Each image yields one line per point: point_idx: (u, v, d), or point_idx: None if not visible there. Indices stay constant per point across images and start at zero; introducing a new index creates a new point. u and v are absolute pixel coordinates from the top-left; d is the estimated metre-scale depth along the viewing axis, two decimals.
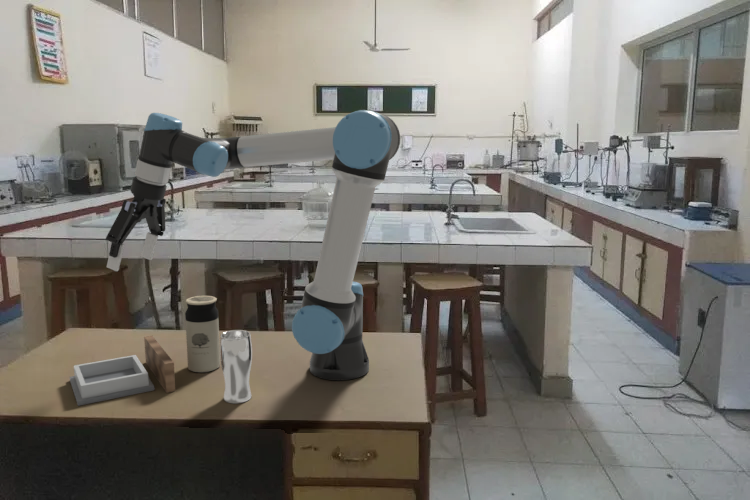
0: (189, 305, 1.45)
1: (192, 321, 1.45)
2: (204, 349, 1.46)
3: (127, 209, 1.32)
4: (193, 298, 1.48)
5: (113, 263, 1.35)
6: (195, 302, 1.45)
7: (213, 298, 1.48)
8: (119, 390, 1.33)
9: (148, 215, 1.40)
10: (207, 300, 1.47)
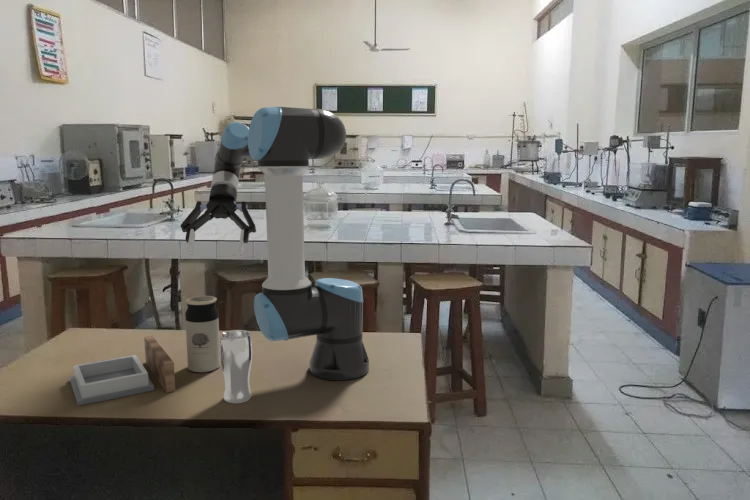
0: (189, 305, 1.45)
1: (192, 321, 1.45)
2: (204, 349, 1.46)
3: None
4: (193, 298, 1.48)
5: None
6: (195, 302, 1.45)
7: (213, 298, 1.48)
8: (119, 390, 1.33)
9: (223, 211, 1.65)
10: (207, 300, 1.47)
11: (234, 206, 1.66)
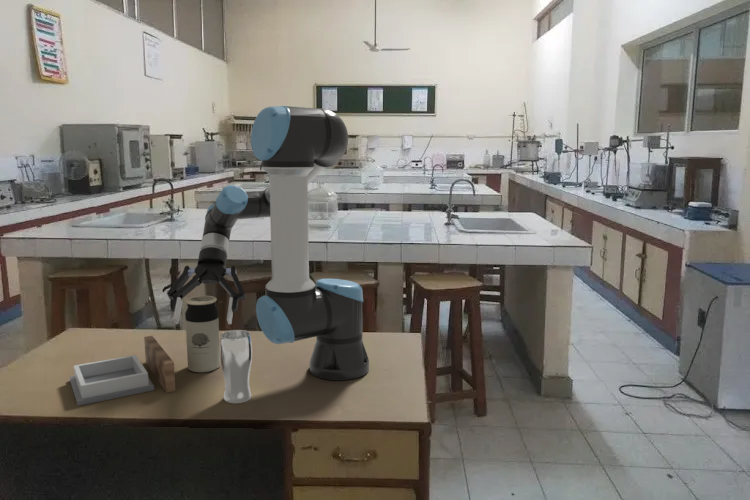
0: (189, 305, 1.45)
1: (192, 321, 1.45)
2: (204, 349, 1.46)
3: None
4: (193, 298, 1.48)
5: None
6: (195, 302, 1.45)
7: (213, 298, 1.48)
8: (119, 390, 1.33)
9: (211, 277, 1.58)
10: (207, 300, 1.47)
11: (223, 271, 1.59)
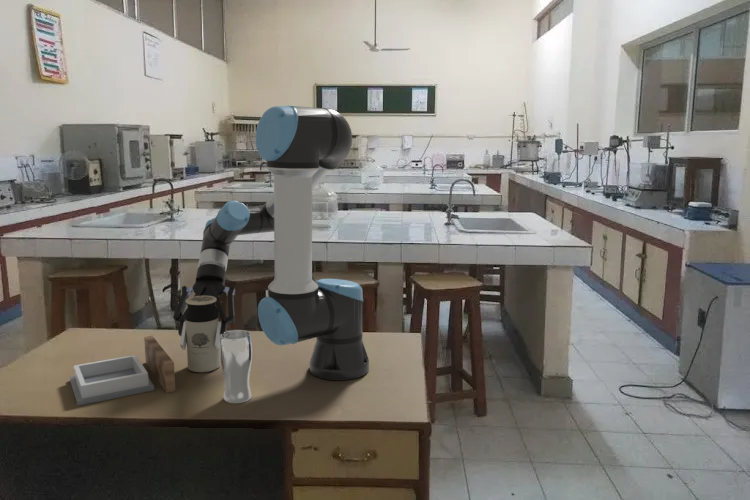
0: (189, 305, 1.45)
1: (192, 321, 1.45)
2: (204, 349, 1.46)
3: None
4: (193, 298, 1.48)
5: None
6: (195, 302, 1.45)
7: (213, 298, 1.48)
8: (119, 390, 1.33)
9: (210, 295, 1.53)
10: (207, 300, 1.47)
11: (221, 289, 1.55)
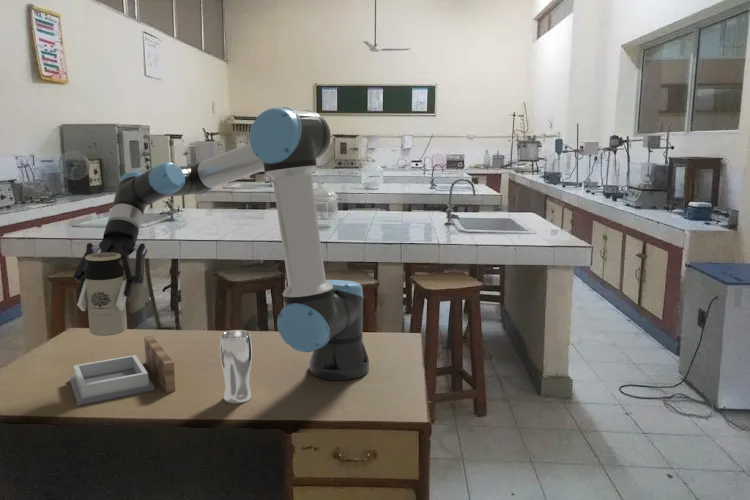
0: (88, 261, 1.32)
1: (91, 279, 1.31)
2: (105, 310, 1.33)
3: None
4: (95, 254, 1.35)
5: None
6: (94, 258, 1.31)
7: (117, 254, 1.35)
8: (119, 390, 1.33)
9: None
10: (109, 256, 1.33)
11: (130, 246, 1.41)
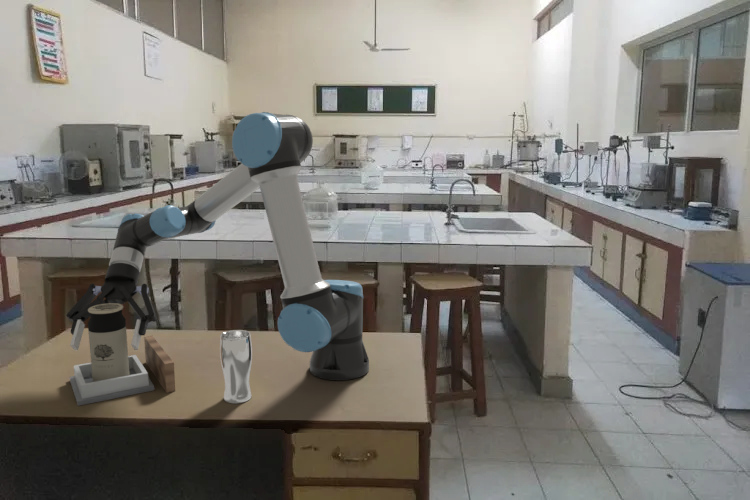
0: (91, 314, 1.33)
1: (94, 332, 1.33)
2: (108, 362, 1.34)
3: None
4: (97, 306, 1.36)
5: None
6: (97, 311, 1.33)
7: (119, 306, 1.37)
8: (119, 390, 1.33)
9: (119, 297, 1.41)
10: (112, 308, 1.35)
11: (133, 289, 1.43)
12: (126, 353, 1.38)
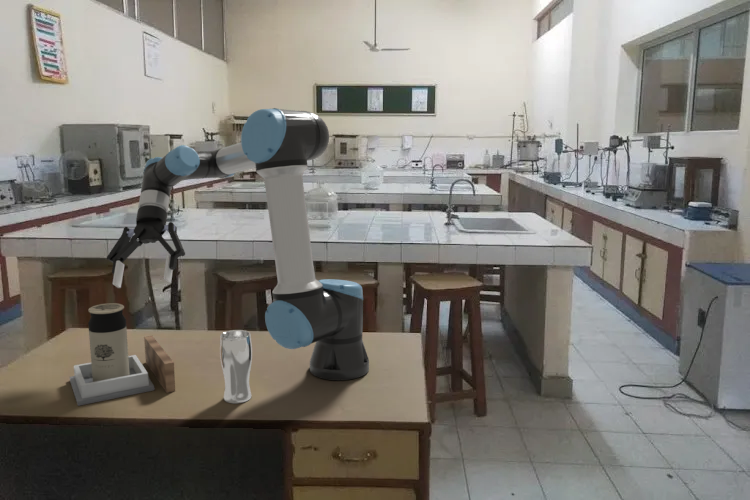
0: (91, 314, 1.33)
1: (94, 331, 1.33)
2: (109, 362, 1.34)
3: None
4: (98, 306, 1.37)
5: None
6: (97, 311, 1.33)
7: (120, 306, 1.37)
8: (119, 390, 1.33)
9: (149, 236, 1.53)
10: (112, 308, 1.35)
11: (161, 228, 1.54)
12: (126, 353, 1.38)
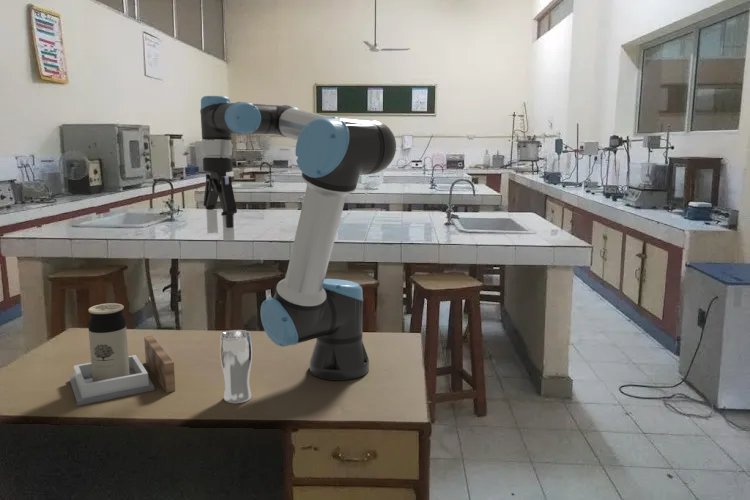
0: (91, 314, 1.33)
1: (94, 332, 1.33)
2: (109, 362, 1.34)
3: None
4: (98, 306, 1.36)
5: None
6: (97, 311, 1.33)
7: (120, 306, 1.37)
8: (119, 390, 1.33)
9: None
10: (112, 308, 1.35)
11: (219, 182, 1.53)
12: (126, 353, 1.38)
